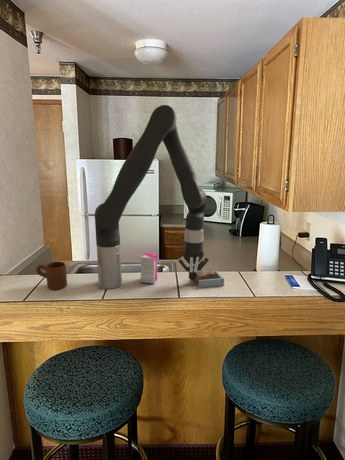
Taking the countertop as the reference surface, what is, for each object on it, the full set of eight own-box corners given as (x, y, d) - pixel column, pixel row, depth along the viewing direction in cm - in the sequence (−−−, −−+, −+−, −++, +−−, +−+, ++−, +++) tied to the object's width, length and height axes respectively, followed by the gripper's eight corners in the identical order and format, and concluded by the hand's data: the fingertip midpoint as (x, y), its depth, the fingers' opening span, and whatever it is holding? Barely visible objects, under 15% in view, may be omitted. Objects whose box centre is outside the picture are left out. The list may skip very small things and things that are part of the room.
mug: (33, 289, 130) (30, 267, 128) (42, 281, 138) (40, 260, 135) (62, 291, 129) (60, 268, 127) (70, 283, 136) (68, 261, 134)
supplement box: (154, 284, 135) (154, 258, 132) (140, 283, 136) (139, 257, 133) (157, 279, 140) (157, 253, 137) (144, 278, 141) (143, 252, 139)
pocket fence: (199, 287, 132) (199, 280, 131) (193, 279, 140) (193, 272, 140) (223, 285, 134) (224, 278, 133) (216, 277, 142) (216, 270, 142)
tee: (198, 285, 134) (199, 276, 133) (194, 280, 139) (195, 271, 138) (216, 283, 136) (216, 274, 135) (211, 278, 141) (212, 269, 140)
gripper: (179, 242, 126) (178, 284, 131) (212, 241, 129) (210, 282, 133) (175, 237, 133) (174, 277, 138) (207, 236, 136) (205, 275, 140)
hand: (192, 279), depth 136 cm, fingers closed
